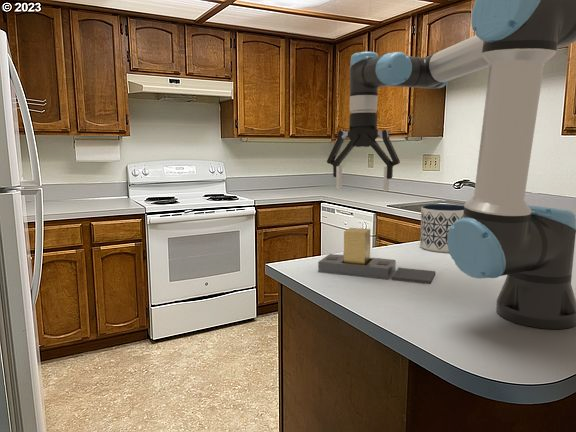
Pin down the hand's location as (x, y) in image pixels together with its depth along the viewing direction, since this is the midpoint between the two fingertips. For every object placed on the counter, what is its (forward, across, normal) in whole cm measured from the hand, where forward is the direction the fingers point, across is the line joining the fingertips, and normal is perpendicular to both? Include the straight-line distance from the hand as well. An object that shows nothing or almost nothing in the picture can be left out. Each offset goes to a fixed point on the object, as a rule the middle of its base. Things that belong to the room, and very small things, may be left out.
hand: (361, 189), depth 127 cm
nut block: (+24, +1, +1) cm, 24 cm away
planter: (+24, -18, -38) cm, 49 cm away
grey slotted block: (+23, +1, +1) cm, 23 cm away
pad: (+23, -15, +1) cm, 28 cm away
